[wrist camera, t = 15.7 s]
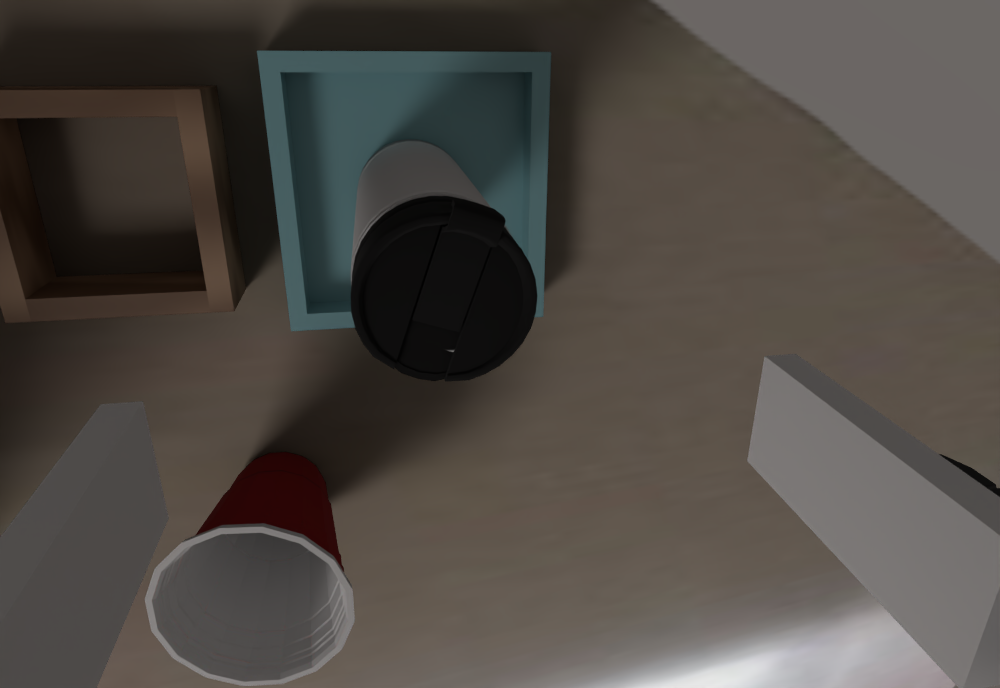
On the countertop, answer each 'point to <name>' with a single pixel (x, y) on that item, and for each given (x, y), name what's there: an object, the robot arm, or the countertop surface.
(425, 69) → the tray
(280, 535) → the plastic cup
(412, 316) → the travel mug
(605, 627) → the countertop surface
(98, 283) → the open wooden box
